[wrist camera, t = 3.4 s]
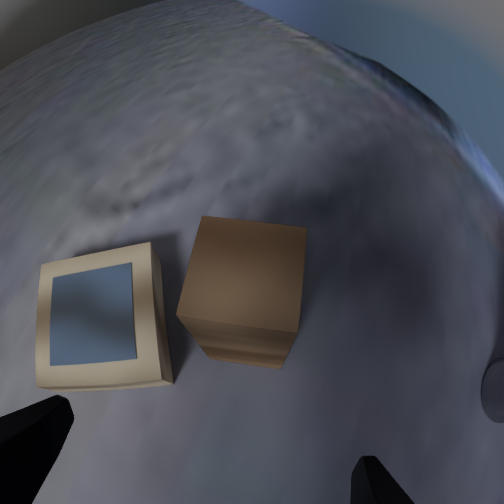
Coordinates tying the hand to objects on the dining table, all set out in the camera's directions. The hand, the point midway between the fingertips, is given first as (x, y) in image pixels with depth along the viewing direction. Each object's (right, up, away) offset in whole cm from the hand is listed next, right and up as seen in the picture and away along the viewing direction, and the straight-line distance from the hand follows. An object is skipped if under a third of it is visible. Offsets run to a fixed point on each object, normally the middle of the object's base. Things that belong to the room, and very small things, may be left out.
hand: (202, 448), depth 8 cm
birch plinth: (-10, 0, +15) cm, 18 cm away
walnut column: (+1, 0, +15) cm, 15 cm away
